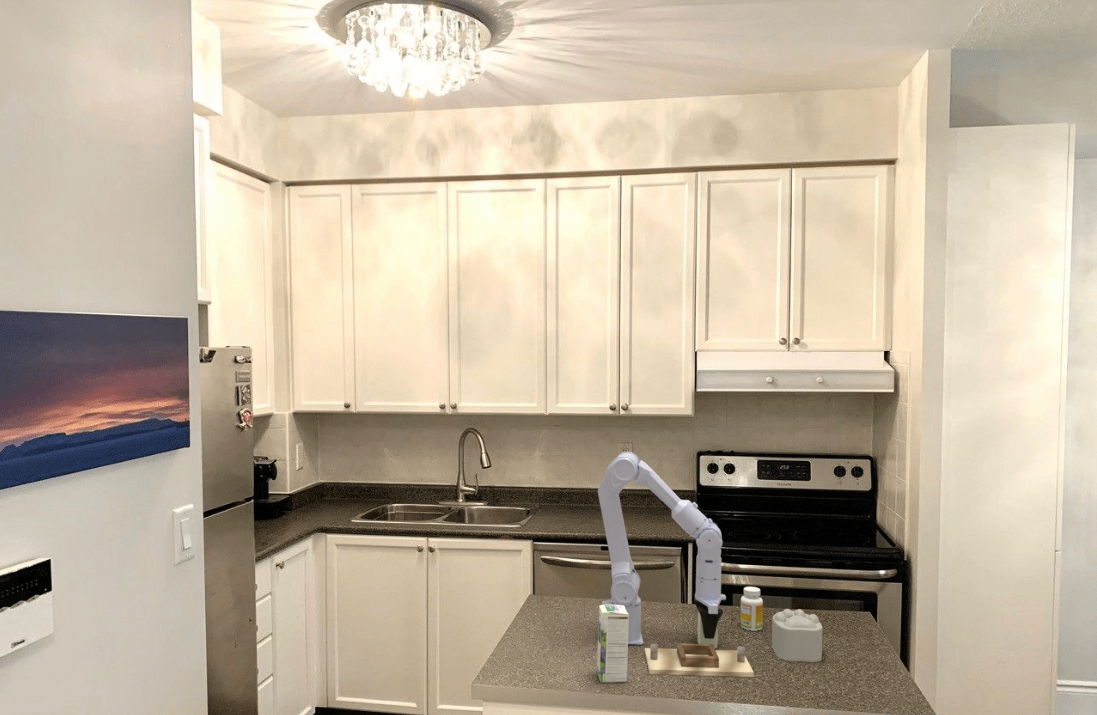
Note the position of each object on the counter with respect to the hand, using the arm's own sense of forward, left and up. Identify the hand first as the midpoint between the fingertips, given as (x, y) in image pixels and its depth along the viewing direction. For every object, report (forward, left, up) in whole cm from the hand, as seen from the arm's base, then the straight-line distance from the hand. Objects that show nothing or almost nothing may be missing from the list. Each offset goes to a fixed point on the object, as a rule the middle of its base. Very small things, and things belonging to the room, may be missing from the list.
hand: (707, 634), depth 183 cm
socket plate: (-4, -11, -3) cm, 12 cm away
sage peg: (0, 0, -2) cm, 2 cm away
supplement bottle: (+13, +13, -3) cm, 19 cm away
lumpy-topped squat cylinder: (+20, -1, -3) cm, 20 cm away
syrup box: (-23, -19, -3) cm, 30 cm away
